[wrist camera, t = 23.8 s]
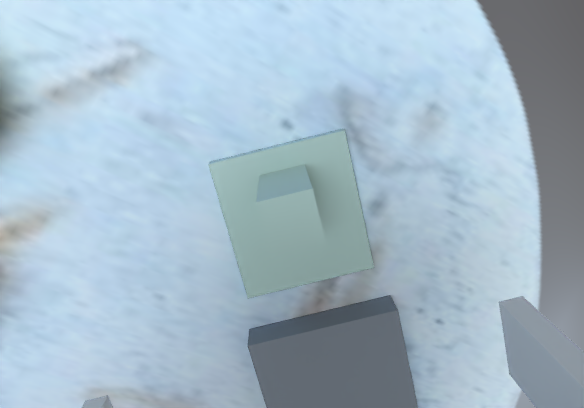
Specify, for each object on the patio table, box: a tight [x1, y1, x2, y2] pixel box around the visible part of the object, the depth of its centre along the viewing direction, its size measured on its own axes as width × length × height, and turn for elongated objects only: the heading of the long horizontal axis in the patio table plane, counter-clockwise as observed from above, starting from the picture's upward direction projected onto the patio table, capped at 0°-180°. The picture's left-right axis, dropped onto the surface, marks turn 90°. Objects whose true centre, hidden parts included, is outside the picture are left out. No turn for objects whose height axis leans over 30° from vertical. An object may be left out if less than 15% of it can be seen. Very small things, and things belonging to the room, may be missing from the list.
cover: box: [208, 129, 374, 298], centre depth 40 cm, size 12×13×10 cm
